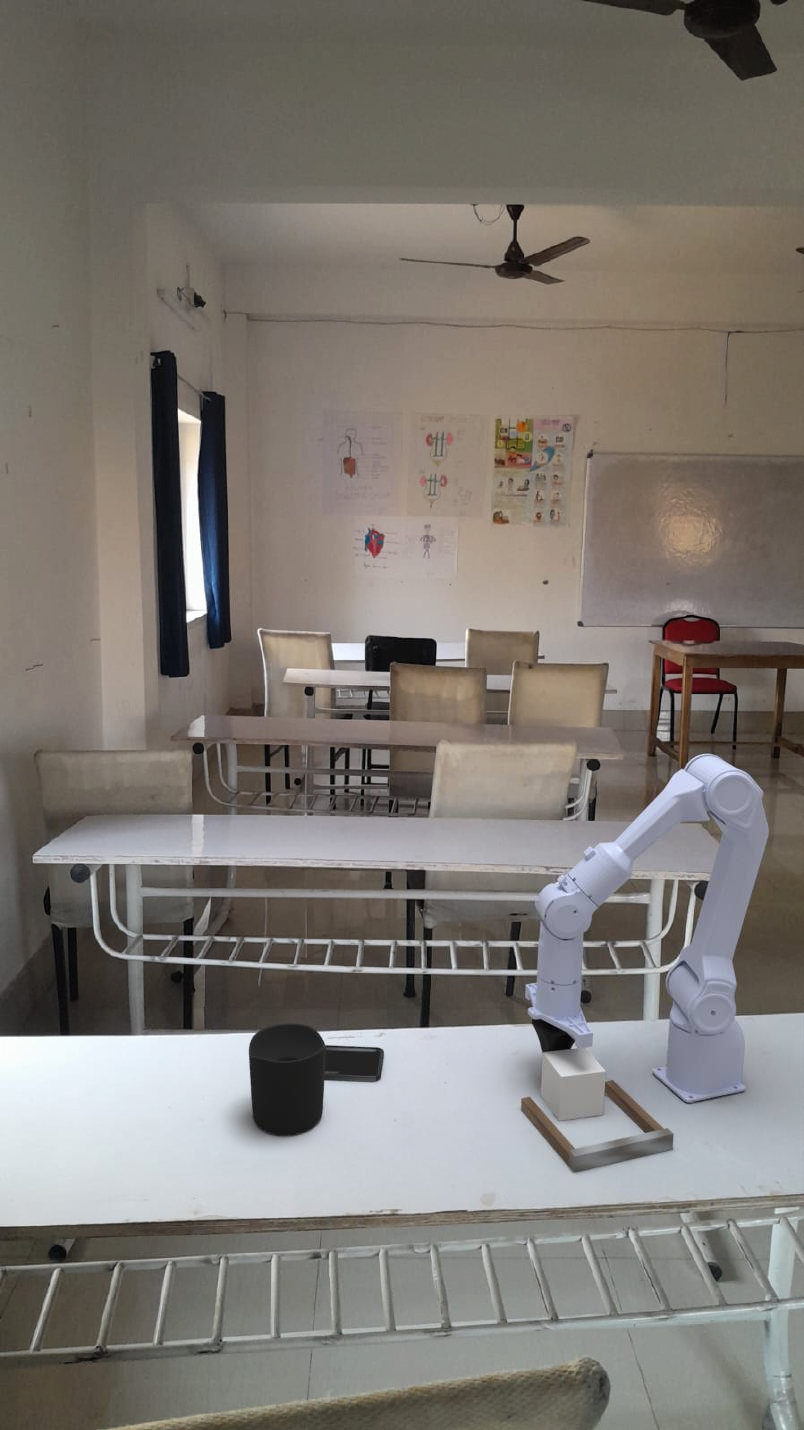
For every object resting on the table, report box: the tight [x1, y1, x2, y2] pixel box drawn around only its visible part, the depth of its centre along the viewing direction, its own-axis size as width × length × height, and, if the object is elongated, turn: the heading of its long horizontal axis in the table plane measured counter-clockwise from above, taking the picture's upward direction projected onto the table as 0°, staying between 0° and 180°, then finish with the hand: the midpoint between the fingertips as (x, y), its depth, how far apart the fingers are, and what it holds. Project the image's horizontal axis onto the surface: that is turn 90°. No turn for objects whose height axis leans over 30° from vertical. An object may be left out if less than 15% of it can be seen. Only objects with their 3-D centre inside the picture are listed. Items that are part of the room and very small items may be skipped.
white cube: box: [540, 1047, 607, 1122], centre depth 123 cm, size 6×6×6 cm
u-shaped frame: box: [520, 1079, 675, 1173], centre depth 119 cm, size 13×13×2 cm
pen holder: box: [248, 1023, 327, 1137], centre depth 119 cm, size 9×9×10 cm
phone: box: [324, 1044, 385, 1083], centre depth 132 cm, size 8×1×15 cm
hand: (554, 1071), depth 128 cm, fingers closed
